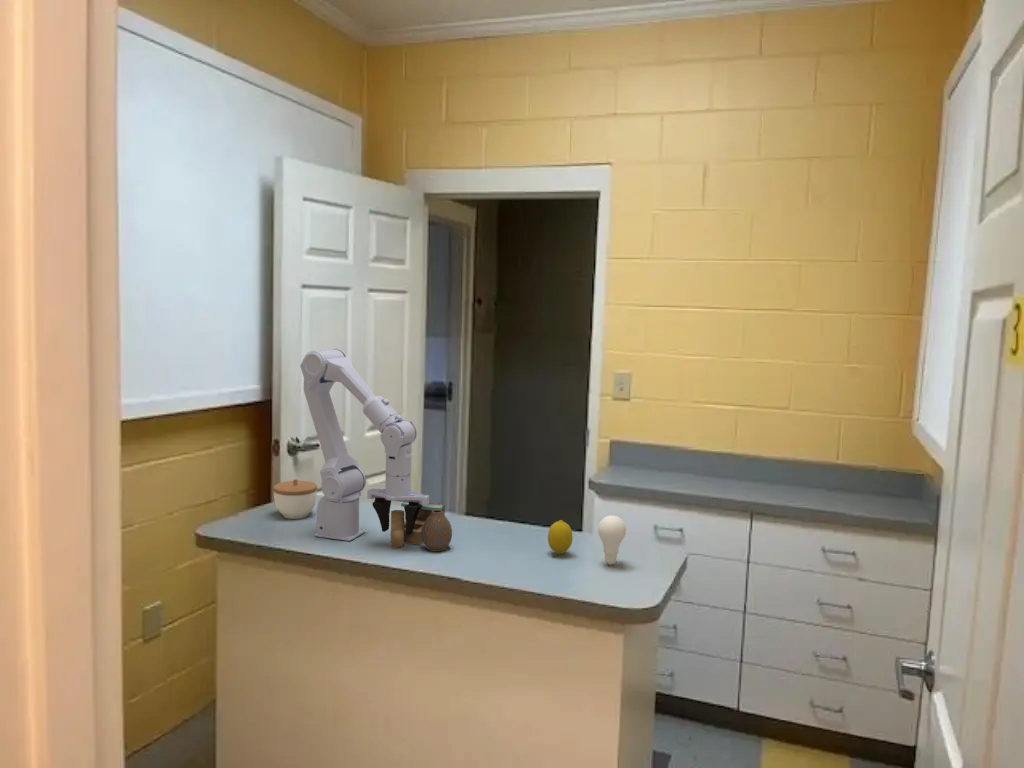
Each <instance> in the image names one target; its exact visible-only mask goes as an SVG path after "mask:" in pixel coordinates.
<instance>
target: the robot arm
mask: <svg viewBox="0 0 1024 768" xmlns="http://www.w3.org/2000/svg"><path fill="white" fill-rule="evenodd" d="M299 367H300V370H301V373H302V376H303V392H304V396H305V400H306V402H307V406H308V409H309V413H310V416H311V420H312V422H313V425H314V429H315V432H316V435H317V438H318V441H319V445H320V449H321V452H322V455H323V459H324V464H323V466H322V468H321V470H320V472H319V474H320V477H321V485H320V486H321V491H322V494H323V495H324V496H322V497H321V498H320V499H319V500H318V502H317V507H316V533H314V537H317V538H318V537H319V538H326V539H333V540H338V541H339V540H340V541H345V542H351V541H353V540H354V539H357V538H358V537H359V536H361V535H363V534H364V533H366V532H367V529H365V528H363V529H362V528H360V496H361V495H362V494H361V492H362V491H363V490H364V489H365V487H366V485H367V478H366V475H365V473H364V471H363V470H362V469H361V468H360V466H359V463H358V460H357V459H356V458H354V457H352V456H351V455H349V452H348V449H347V445H346V442H345V439H344V436H343V433H342V429H341V426H340V422H339V420H338V419H339V418H338V416H337V414H336V409H335V406H334V404H333V400H332V398H331V394H330V392H331V391H330V390H331V389H332V388H333V385H334V384H335V383H336V382H338V383H341V384H342V386H344V388H346V389H347V391H349V392H350V393H351V394H352V395H353V396H354V398H356V399H357V401H359V402H360V403H361V404H362V406H363V409H362V413H363V415H364V416H366V418H367V419H368V420H369V421H370V422H371V424H372V425H373V426H374V427H375V428H376V429H377V431H378V432H379V433H380V436H379V437H380V441H381V443H382V445H383V447H384V453H385V484H384V485H385V486H384V487H385V488H383V489H382V488H369V489H367V492H366V494H367V499H369V500H371V499H374V501H373V502H372V507H373V508H374V511H375V512H376V514H377V517H378V519H379V523H380V527H381V531H382V532H384V533H385V532H387V531H389V529H390V514H391V505H392V502H401V503H403V502H407V503H409V504H408V505H406V506H404V507H403V508H404V516H405V515H406V535H410V534H412V533H413V529H414V525H415V521H416V519H417V516H418V514H419V512H420V510H421V508H422V506H426V505H428V504H429V503H430V495H429V494H423V493H419V492H415V491H411V490H412V488H411V487H412V450H413V449H412V447H413V446H412V444H413V443H414V442H415V440H416V438H417V434H418V432H417V428H416V426H415V424H414V423H413V421H411V420H410V419H408V418H407V419H405V418H403V416H402V415H401V414H399V413H398V412H397V411H396V410H395V409H394V407H393V406H392V405H391V404H390V400H389V399H388V398H387V397H385V398H384V396H381V395H375V393H374V392H373V390H372V389H371V388H370V387H369V386H368V384H367V383H366V382H365V380H364V379H363V378H362V376H361V375H360V374H359V372H358V371H357V370H356V369H355V367H354V366H353V360H352V359H351V358H350V356H349V357H348V355H347V353H346V352H345V351H344V350H342V349H339V348H333V349H327V350H311V351H309V352H307V353H306V354H305V356H304V357H303V359H302V361H301V363H300V366H299Z"/></svg>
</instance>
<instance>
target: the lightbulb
mask: <svg viewBox="0 0 1024 768" xmlns="http://www.w3.org/2000/svg"><path fill="white" fill-rule="evenodd" d="M597 531H598V536H599V538H600V540H601V542H602V545H603V553H604V562H605V563H606V564H607V565H609V566H612V565H614V564H616V563H617V558H618V554H619V549H620V545H621V543H622V542H623V540H624V538H625V537H626V534H627V526H626V523H625V522H624V520H623V519H622V518H620V516H617V515H605V517H603V518H602V519H601V520H600V521H599V523H598V526H597Z"/></svg>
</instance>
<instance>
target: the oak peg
mask: <svg viewBox="0 0 1024 768" xmlns="http://www.w3.org/2000/svg"><path fill="white" fill-rule="evenodd" d="M404 521H405V510H402V509H394V510H392V511H391V510H390V548H393V547H395V549H399V548H398V547H401V548H403V547H404V546H405V543H404Z"/></svg>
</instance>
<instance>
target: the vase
mask: <svg viewBox="0 0 1024 768" xmlns="http://www.w3.org/2000/svg"><path fill="white" fill-rule="evenodd" d="M452 537H453V528H452V525H451V522H450V521H449V519H448V518H447V516H446V514H445V515H444V513H443V511H442V510H433V511H432V512H431V514H430V516H429V517H428V518H427V519H426V521H425V522H424V524H423V527H422V541H423V543H422V544H423V545H424V547H425V548H427V550H429V551H433V552H441V551H444V550H446V549H447V548H448V547H449V546H450V543H451V541H452Z"/></svg>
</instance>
